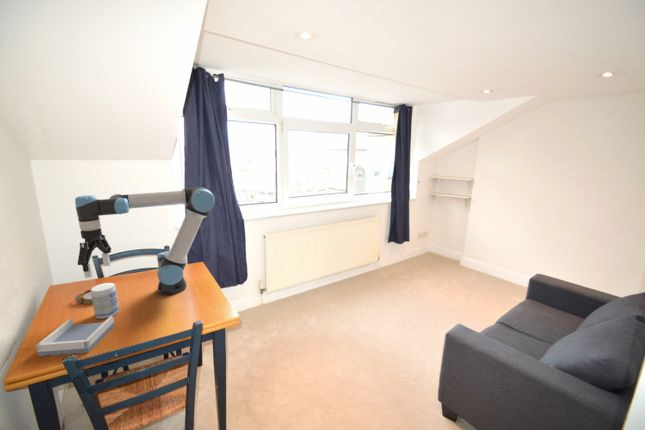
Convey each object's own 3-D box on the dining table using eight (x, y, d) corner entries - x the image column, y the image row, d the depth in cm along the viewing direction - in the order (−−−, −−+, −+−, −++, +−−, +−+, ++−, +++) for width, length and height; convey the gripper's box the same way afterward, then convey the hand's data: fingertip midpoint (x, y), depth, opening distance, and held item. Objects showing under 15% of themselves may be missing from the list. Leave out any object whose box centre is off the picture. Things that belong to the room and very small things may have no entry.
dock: (114, 325, 130) (113, 316, 129) (89, 352, 112) (86, 341, 111) (71, 328, 127) (69, 318, 126) (38, 356, 110) (35, 345, 109)
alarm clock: (102, 299, 148) (69, 296, 144) (101, 307, 149) (69, 305, 145) (113, 289, 159) (83, 286, 155) (112, 297, 159) (82, 295, 156)
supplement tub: (118, 315, 138) (114, 288, 135) (94, 321, 133) (89, 293, 130) (119, 306, 146) (115, 280, 143) (96, 312, 141) (91, 285, 137)
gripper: (99, 222, 142) (106, 261, 146) (60, 236, 118) (70, 283, 122) (115, 222, 143) (121, 261, 147) (80, 236, 119) (89, 282, 123)
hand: (98, 271), depth 135 cm, fingers open, 13 cm apart
